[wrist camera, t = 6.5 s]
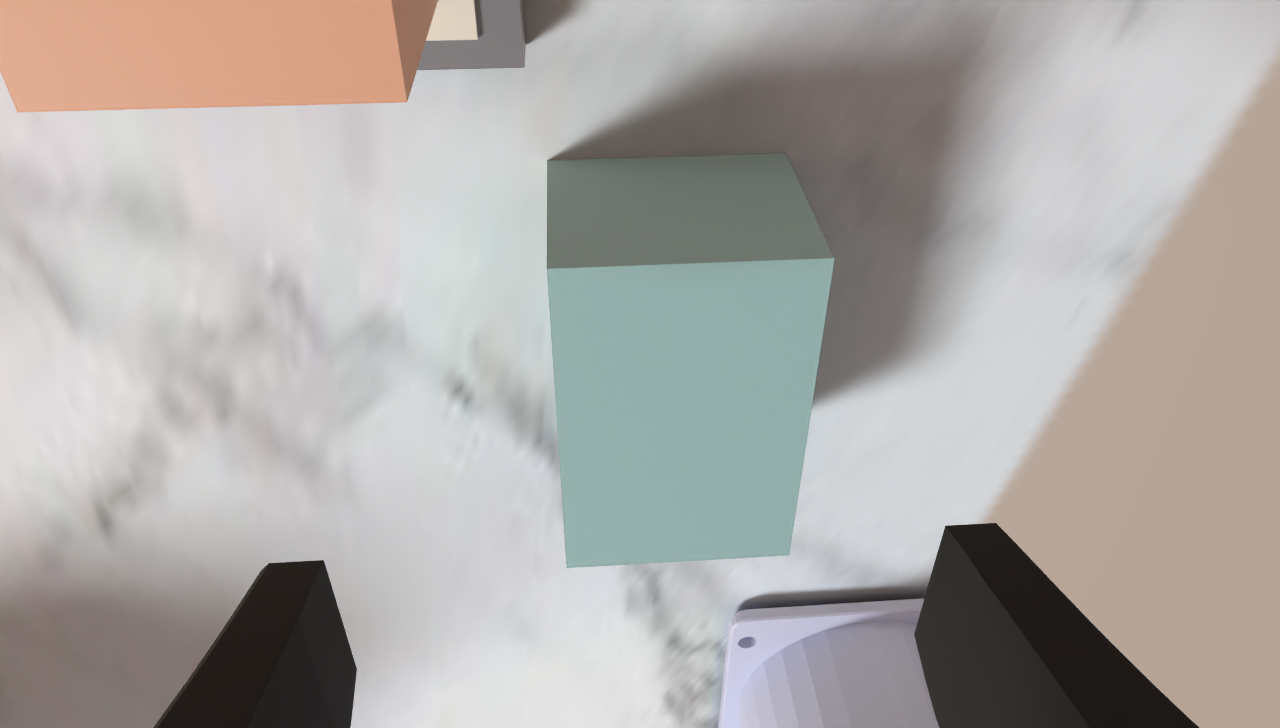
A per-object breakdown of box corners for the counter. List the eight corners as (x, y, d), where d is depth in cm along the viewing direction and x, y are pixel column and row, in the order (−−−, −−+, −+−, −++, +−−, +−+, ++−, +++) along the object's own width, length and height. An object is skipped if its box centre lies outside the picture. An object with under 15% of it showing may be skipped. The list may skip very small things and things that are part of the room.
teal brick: (754, 424, 22) (788, 555, 19) (563, 434, 22) (566, 568, 19) (784, 149, 18) (834, 258, 15) (547, 156, 17) (547, 268, 14)
